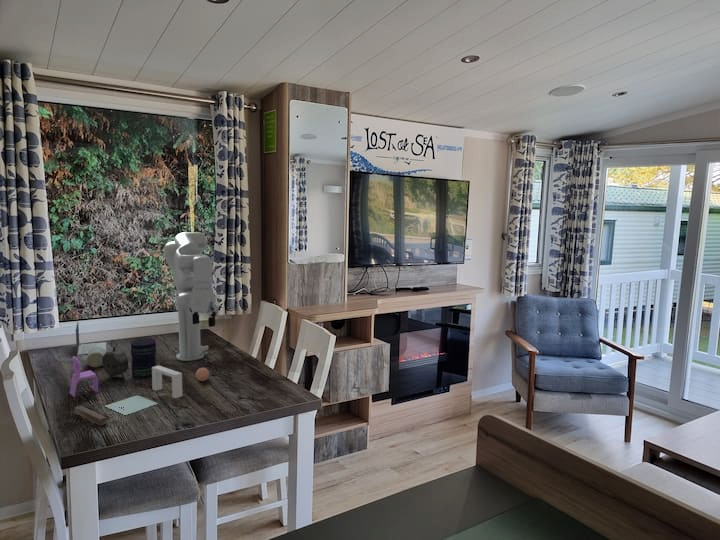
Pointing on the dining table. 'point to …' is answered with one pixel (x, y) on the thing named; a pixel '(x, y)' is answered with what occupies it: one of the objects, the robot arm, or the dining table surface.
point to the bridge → (175, 375)
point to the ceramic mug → (95, 356)
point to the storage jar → (143, 358)
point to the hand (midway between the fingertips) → (203, 325)
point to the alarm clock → (115, 362)
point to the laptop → (86, 347)
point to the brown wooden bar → (90, 415)
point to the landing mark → (131, 405)
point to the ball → (202, 374)
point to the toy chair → (81, 377)
